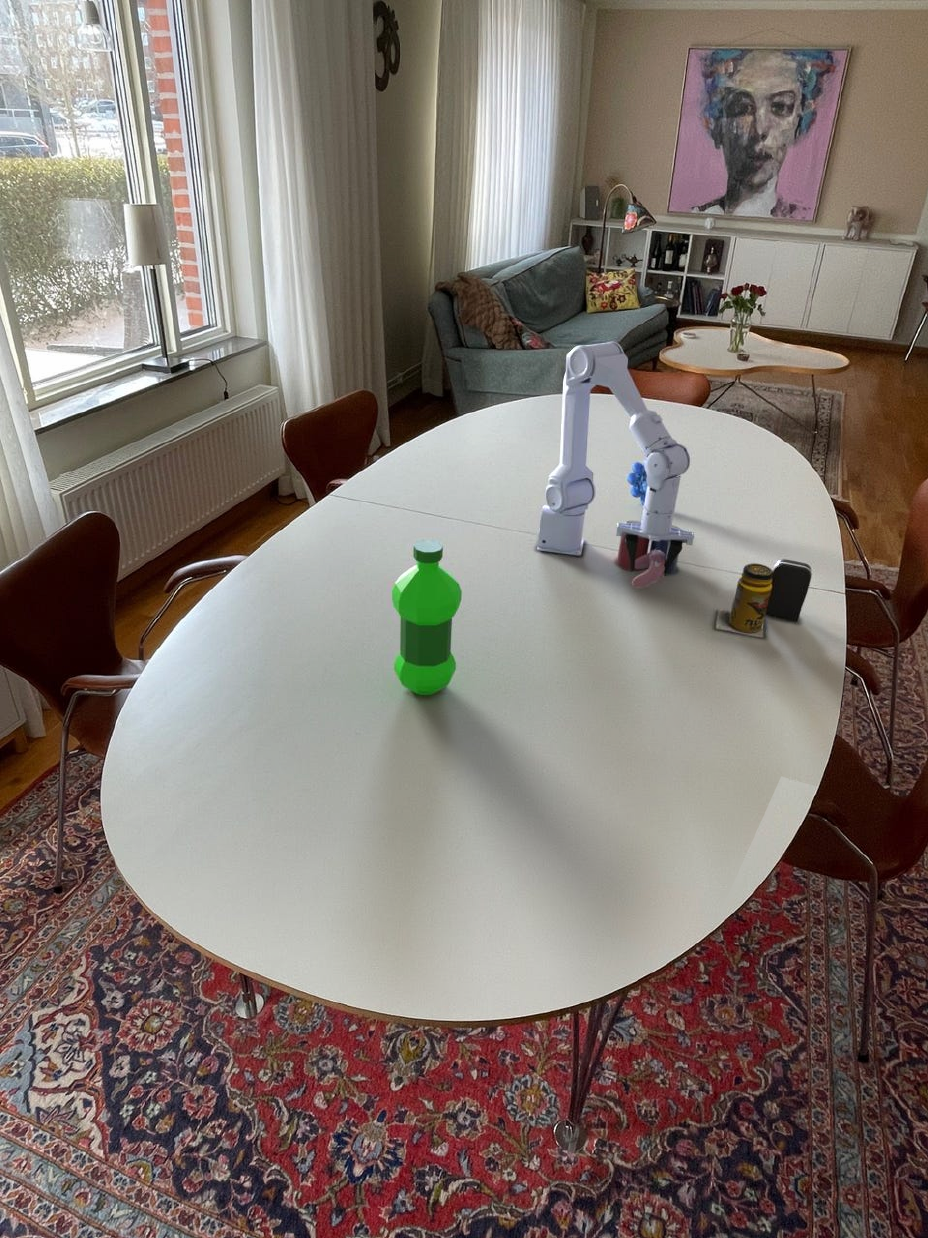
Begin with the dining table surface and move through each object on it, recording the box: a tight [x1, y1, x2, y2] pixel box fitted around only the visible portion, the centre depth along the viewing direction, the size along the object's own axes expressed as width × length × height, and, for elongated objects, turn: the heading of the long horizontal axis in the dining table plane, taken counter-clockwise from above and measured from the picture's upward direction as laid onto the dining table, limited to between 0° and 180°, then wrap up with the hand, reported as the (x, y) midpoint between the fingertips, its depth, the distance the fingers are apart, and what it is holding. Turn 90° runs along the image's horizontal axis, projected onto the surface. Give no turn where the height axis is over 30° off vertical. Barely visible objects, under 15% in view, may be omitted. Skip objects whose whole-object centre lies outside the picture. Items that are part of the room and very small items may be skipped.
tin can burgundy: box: [616, 520, 651, 571], centre depth 175 cm, size 6×6×9 cm
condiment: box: [715, 562, 773, 638], centre depth 154 cm, size 7×8×12 cm
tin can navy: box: [647, 525, 682, 575], centre depth 174 cm, size 6×6×9 cm
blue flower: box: [626, 458, 647, 506], centre depth 202 cm, size 12×7×12 cm, turn 68°
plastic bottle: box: [391, 539, 463, 696], centre depth 129 cm, size 10×10×25 cm
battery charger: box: [765, 558, 813, 623], centre depth 158 cm, size 7×4×11 cm, turn 68°
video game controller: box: [631, 549, 665, 589], centre depth 164 cm, size 10×5×7 cm, turn 168°
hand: (647, 571), depth 165 cm, fingers closed on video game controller, 5 cm apart
